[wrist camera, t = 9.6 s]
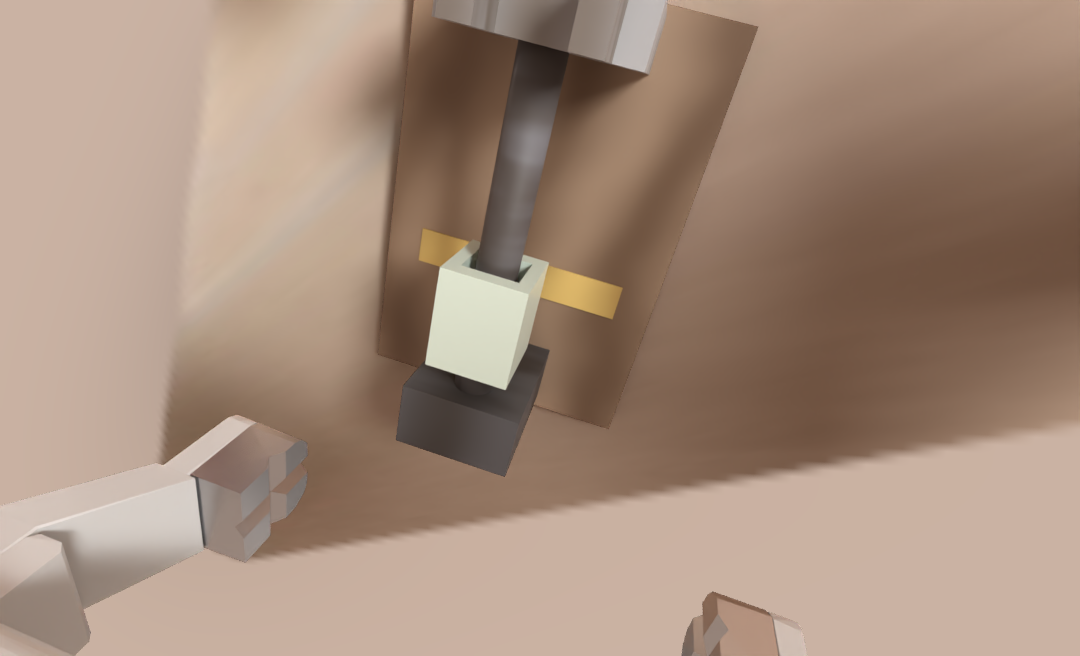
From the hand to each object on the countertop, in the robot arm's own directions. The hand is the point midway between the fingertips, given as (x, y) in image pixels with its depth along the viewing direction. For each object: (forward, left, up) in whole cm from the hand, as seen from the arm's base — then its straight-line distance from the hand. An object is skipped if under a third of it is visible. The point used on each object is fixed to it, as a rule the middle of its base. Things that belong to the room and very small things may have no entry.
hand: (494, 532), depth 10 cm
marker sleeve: (+4, +3, -17) cm, 18 cm away
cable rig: (+4, 0, -22) cm, 22 cm away
